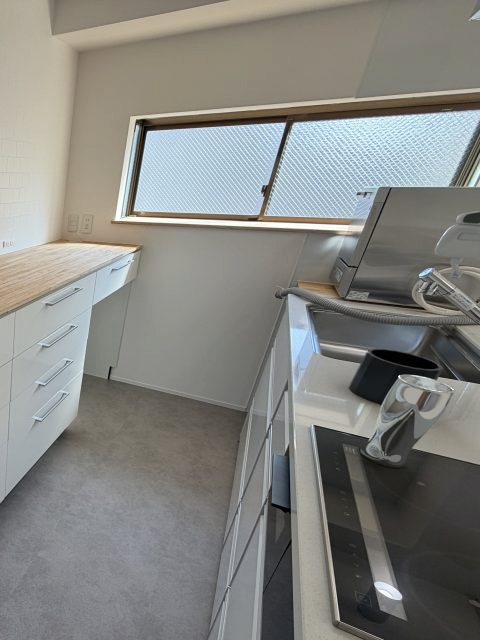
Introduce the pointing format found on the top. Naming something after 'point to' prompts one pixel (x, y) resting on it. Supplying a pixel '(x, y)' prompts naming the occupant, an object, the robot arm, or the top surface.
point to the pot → (389, 372)
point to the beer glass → (406, 418)
